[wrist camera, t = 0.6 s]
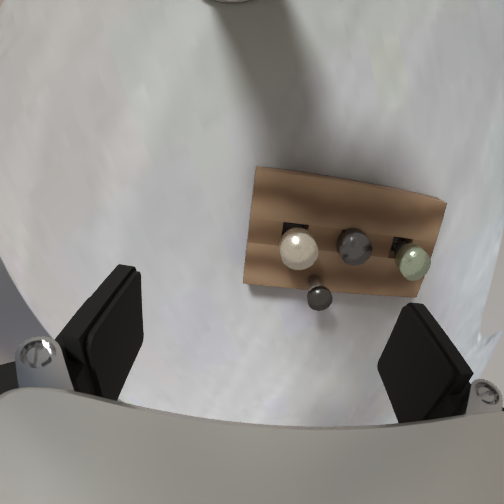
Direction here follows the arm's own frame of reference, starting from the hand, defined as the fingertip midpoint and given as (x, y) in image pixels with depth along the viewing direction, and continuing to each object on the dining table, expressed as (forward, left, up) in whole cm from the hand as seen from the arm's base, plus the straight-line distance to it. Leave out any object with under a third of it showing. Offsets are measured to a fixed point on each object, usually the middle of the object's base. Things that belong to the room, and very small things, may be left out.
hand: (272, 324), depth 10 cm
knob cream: (+8, +5, -29) cm, 31 cm away
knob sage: (+8, +21, -29) cm, 37 cm away
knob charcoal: (+8, +13, -32) cm, 36 cm away
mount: (+8, +13, -33) cm, 36 cm away
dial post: (+15, +9, -30) cm, 34 cm away
